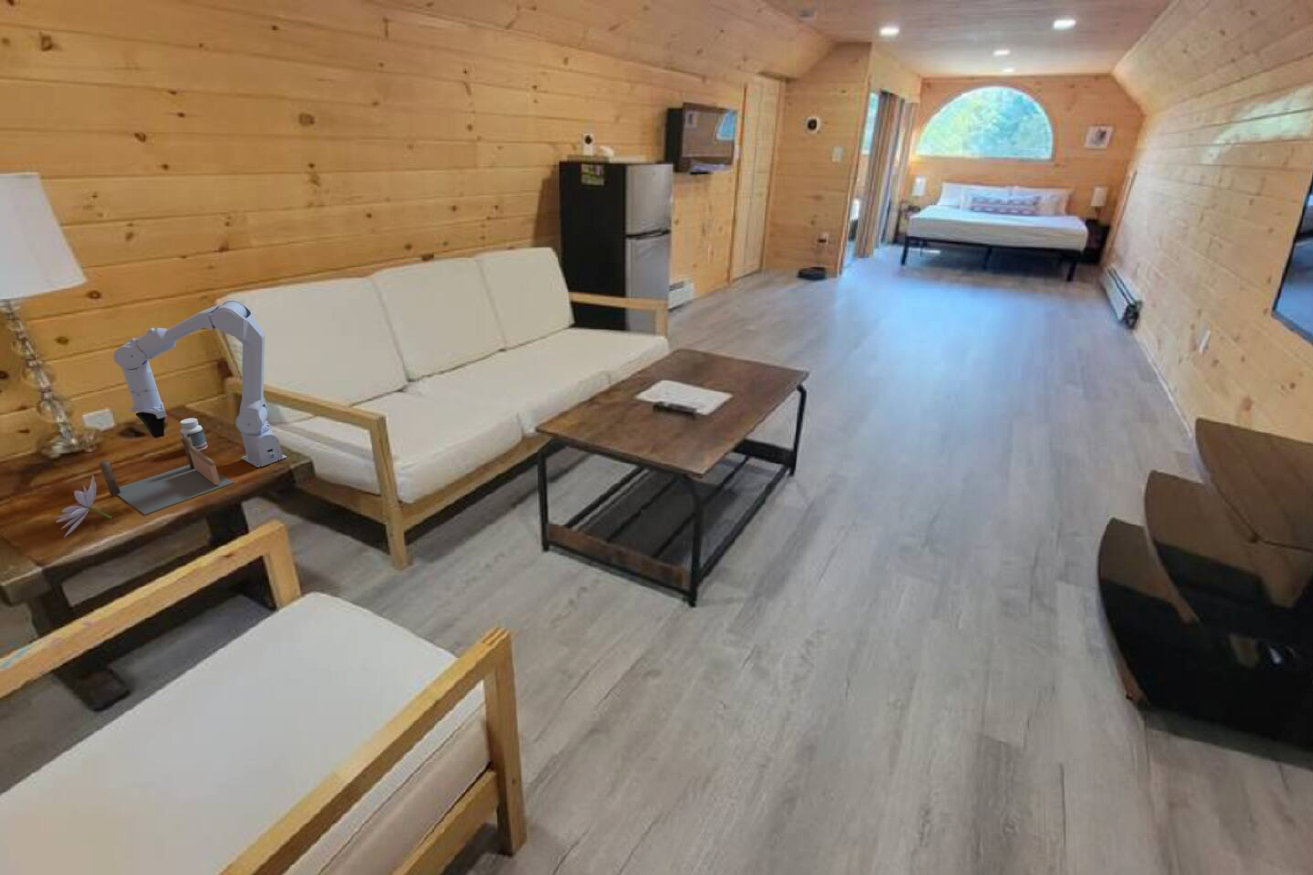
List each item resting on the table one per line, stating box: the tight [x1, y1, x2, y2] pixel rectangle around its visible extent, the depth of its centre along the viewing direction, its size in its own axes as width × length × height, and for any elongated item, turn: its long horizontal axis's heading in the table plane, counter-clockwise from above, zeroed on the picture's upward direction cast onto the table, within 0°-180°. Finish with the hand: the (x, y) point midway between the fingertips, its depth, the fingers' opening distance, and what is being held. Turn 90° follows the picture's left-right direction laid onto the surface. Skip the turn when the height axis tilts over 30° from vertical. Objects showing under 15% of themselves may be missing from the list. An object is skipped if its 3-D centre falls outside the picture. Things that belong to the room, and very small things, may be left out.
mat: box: [117, 464, 235, 516], centre depth 164 cm, size 20×20×1 cm
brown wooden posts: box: [98, 437, 195, 497], centre depth 164 cm, size 2×20×9 cm, turn 147°
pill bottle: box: [179, 417, 208, 452], centre depth 182 cm, size 5×5×9 cm
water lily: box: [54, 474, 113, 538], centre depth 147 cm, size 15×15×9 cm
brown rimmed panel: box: [189, 446, 220, 485], centre depth 166 cm, size 14×1×7 cm, turn 52°
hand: (158, 436), depth 169 cm, fingers closed
